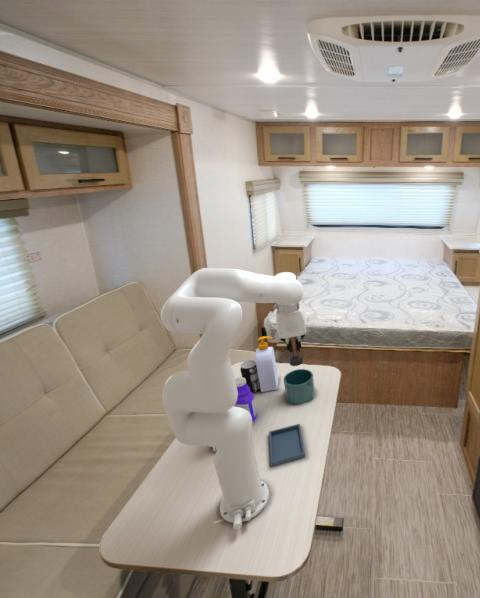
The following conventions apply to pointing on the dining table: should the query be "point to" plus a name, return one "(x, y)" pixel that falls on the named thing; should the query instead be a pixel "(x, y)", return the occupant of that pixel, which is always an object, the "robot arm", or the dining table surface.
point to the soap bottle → (266, 366)
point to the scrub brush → (294, 353)
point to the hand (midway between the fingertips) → (294, 350)
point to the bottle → (245, 397)
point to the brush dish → (286, 445)
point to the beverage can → (250, 375)
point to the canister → (299, 386)
